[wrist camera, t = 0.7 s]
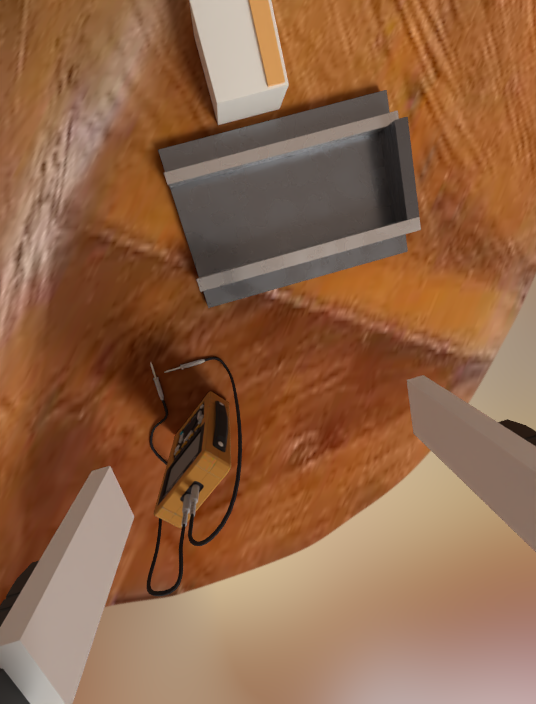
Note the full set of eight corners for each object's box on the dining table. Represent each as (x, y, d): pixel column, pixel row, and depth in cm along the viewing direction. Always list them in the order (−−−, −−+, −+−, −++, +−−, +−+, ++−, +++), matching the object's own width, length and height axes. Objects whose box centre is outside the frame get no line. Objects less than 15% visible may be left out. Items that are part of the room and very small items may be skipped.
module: (194, 36, 30) (188, -8, 25) (259, 20, 30) (266, -27, 25) (218, 125, 32) (217, 101, 27) (279, 109, 32) (289, 82, 27)
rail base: (159, 152, 32) (151, 139, 28) (381, 94, 33) (402, 73, 29) (209, 306, 36) (207, 312, 32) (402, 251, 37) (423, 251, 33)
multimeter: (175, 326, 37) (121, 405, 17) (249, 377, 39) (272, 494, 20) (101, 428, 39) (-19, 597, 20) (176, 469, 41) (134, 654, 22)
